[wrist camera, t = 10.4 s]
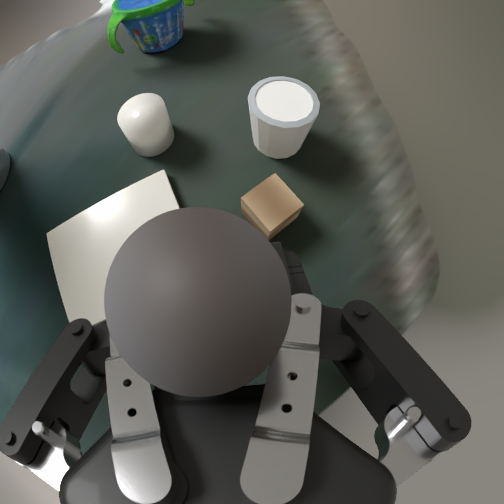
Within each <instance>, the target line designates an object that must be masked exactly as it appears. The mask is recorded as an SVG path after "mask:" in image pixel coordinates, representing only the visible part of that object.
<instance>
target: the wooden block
mask: <svg viewBox="0 0 504 504" xmlns="http://www.w3.org/2000/svg"><path fill="white" fill-rule="evenodd" d="M303 206H304V204H303V203H302V202H301V201H300V200H299V199H298V198H297V196H296V195H295V194H294V193H293V192H292V191H291V190H290V189H289V188H288V187H287V185H286V184H285V183H284V182H283V181H282V180H281V179H280V178H279V177H278V176H277V175H276V174H275V173H274V174H273V175H272V176H270V177H269V178H267V179H266V180H265V181H263V182H262V183H260V184H259V185H258V186H256V187H255V188H254V189H252V190H251V191H250V192H248V193H247V194H245V195H244V196H243V197H241V212H242V213H243V215H244V216H245V217H246V218H247V219H248V220H249V222H250V223H251V224H252V225H253V226H254V227H255V228H256V229H258V230H259V231H260V232H261V233H262V234H263V235H264V236H265V237H266V238H267V239H268V240H270V239H271V238H272V237H274V236H275V235H276V234H277V233H279V232H280V231H281V230H282V229H284V228H285V227H286V226H287V225H289V224H290V223H291V222H292V221H294V220H295V219H296V218H297V217H298V215H299V213H300V211H301V209H302V208H303Z"/></svg>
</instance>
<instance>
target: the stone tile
mask: <svg viewBox="0 0 504 504" xmlns="http://www.w3.org/2000/svg"><path fill="white" fill-rule="evenodd" d="M179 208H180V207H179V204H178V202H177V199H176V197H175V194H174V192H173V189H172V187H171V184H170V182H169V179H168V176H167V174H166V172H165V170H161V171H159V172H157V173H155V174H153V175H151V176H149V177H147V178H145V179H143V180H141V181H139V182H137V183H135V184H133V185H131V186H129V187H127V188H125V189H123V190H121V191H119V192H117V193H115V194H113V195H111V196H109V197H108V198H106V199H104V200H102V201H100V202H98V203H97V204H95V205H93V206H91V207H90V208H88V209H86V210H84V211H83V212H81V213H79V214H77V215H76V216H74V217H72V218H71V219H69V220H67V221H66V222H64V223H62V224H61V225H59V226H58V227H56V228H54V229H53V230H51V231H50V232H48V233H46V234H47V240H48V245H49V249H50V254H51V259H52V263H53V267H54V271H55V275H56V279H57V283H58V287H59V290H60V294H61V297H62V301H63V304H64V307H65V310H66V314H67V317H68V320H69V323H70V322H72V321H73V320H76V319H79V318H84V319H87V320H89V321H90V322H91V324H92V326H95V325H98V324H100V323H103V322H105V321H106V317H105V309H104V292H105V285H106V279H107V276H108V272H109V269H110V266H111V264H112V262H113V260H114V257H115V255H116V254H117V252H118V251H119V249H120V247H121V246H122V244H123V243H124V242H125V241H126V240H127V238H128V237H129V236H130V235H131V234H132V233H133V232H134V231H135V230H136V229H137V228H139V227H140V226H141V225H143V224H144V223H145V222H147V221H149V220H150V219H152V218H154V217H156V216H158V215H160V214H163V213H165V212H168V211H171V210H175V209H179Z"/></svg>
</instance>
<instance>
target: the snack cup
mask: <svg viewBox="0 0 504 504" xmlns="http://www.w3.org/2000/svg"><path fill="white" fill-rule="evenodd" d="M183 3H184V4H185V5H188V6H191V5H194V3H195V0H115V1H114V2H113V4H112V11H113V15H112V17H111V19H110V21H109V25H108V41H109V44H110V46H111V48H112V49H113V50H115V51H116V52H118V53H122V54H123V53H124V50H123V49H122V48H121V46H120V44H119V43H118V42H117V40H116V36H115V34H116V31H117V28H118V26H119V23H120V22H121V23H122V24H123V25H124V27H125V29H126V30H127V32H128V34H129V35H130V37H131V38H132V40H133V41H134V43H135V45H136V46H137V48H139V49H140V50H141V51H142V52H159V51H162V50H163V51H164V50H167V49H169V48H170V47H172V46H174V45H175V44H176V43H177V42H178V41H179V40H180V39H181V38H182V36H183Z"/></svg>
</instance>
